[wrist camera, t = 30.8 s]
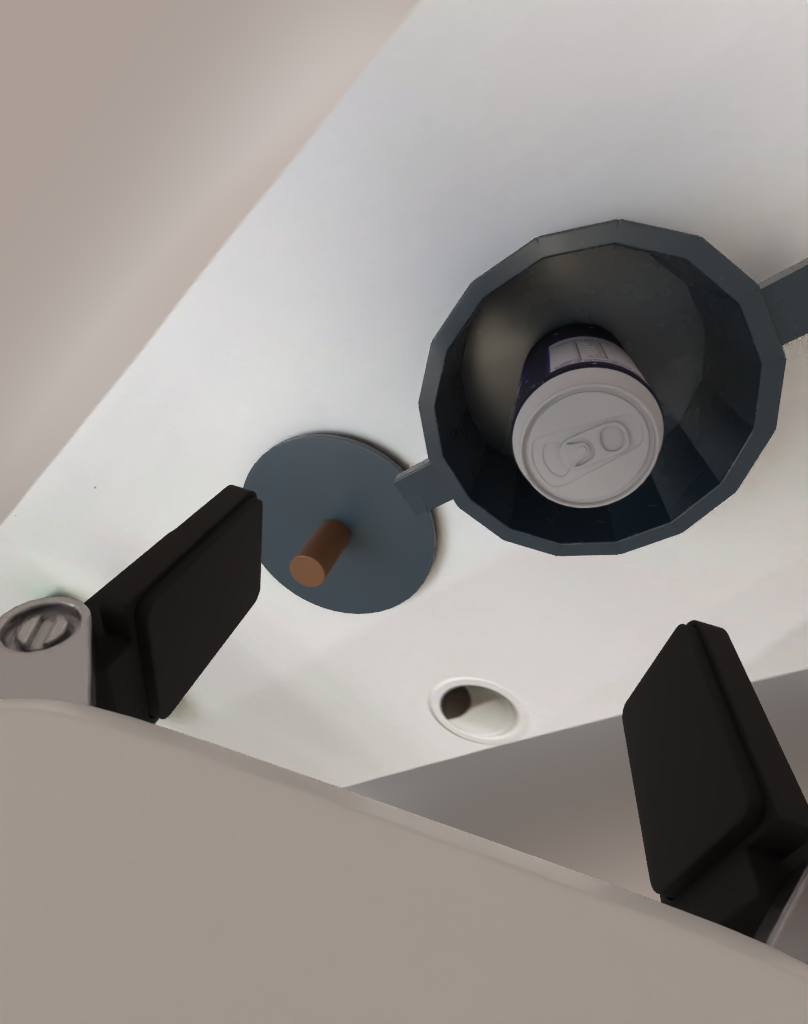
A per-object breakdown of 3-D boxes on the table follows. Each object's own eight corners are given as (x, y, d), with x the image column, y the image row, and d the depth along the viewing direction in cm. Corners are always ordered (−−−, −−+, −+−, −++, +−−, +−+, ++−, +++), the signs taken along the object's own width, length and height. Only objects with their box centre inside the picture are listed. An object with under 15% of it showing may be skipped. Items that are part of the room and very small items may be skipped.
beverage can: (506, 351, 29) (483, 415, 18) (604, 300, 26) (642, 342, 16) (544, 435, 30) (543, 535, 20) (640, 395, 28) (693, 486, 18)
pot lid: (212, 486, 40) (161, 524, 34) (358, 390, 32) (322, 419, 27) (325, 625, 44) (295, 678, 39) (476, 567, 37) (464, 622, 32)
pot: (372, 351, 31) (319, 387, 24) (716, 114, 22) (799, 55, 15) (485, 531, 35) (470, 606, 28) (814, 393, 26) (915, 453, 19)
